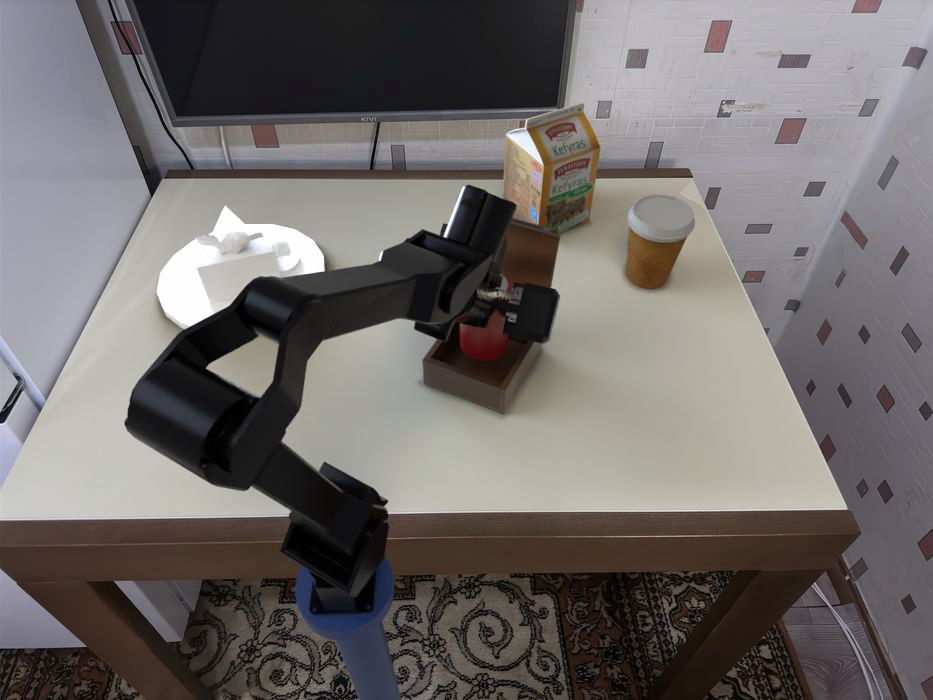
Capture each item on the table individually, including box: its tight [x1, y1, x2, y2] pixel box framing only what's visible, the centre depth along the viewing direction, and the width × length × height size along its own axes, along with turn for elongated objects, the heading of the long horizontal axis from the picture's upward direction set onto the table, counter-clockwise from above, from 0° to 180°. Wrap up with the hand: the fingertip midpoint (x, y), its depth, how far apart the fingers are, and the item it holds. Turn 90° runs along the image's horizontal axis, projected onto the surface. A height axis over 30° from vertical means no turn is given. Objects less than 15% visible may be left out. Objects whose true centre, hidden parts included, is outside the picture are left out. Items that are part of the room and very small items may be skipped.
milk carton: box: [502, 102, 602, 235], centre depth 108 cm, size 10×11×19 cm
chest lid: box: [501, 218, 561, 291], centre depth 89 cm, size 13×12×4 cm
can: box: [460, 273, 511, 361], centre depth 84 cm, size 6×6×10 cm
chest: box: [422, 322, 542, 415], centre depth 90 cm, size 13×12×5 cm
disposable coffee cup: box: [625, 193, 696, 290], centre depth 100 cm, size 10×10×12 cm
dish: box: [156, 205, 326, 330], centre depth 99 cm, size 25×25×11 cm
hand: (488, 304), depth 85 cm, fingers closed on can, 6 cm apart
